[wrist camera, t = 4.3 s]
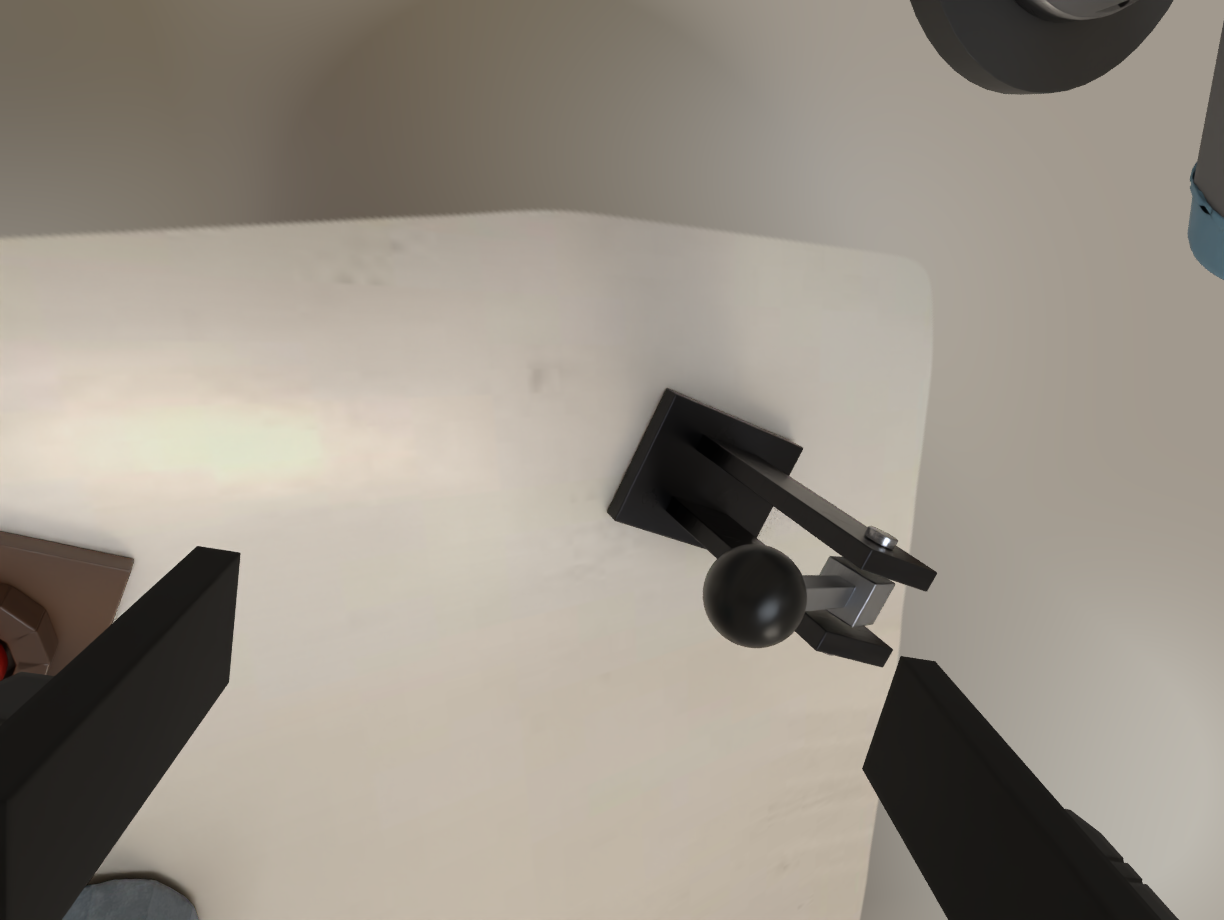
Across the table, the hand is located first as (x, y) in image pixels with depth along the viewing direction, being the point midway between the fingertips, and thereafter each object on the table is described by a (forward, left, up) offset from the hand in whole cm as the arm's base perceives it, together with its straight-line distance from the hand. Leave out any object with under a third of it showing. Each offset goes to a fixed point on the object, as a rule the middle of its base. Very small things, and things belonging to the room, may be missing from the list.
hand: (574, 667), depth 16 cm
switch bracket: (0, +20, -26) cm, 33 cm away
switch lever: (0, +15, -12) cm, 19 cm away
